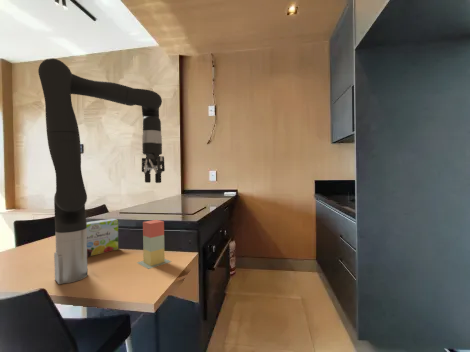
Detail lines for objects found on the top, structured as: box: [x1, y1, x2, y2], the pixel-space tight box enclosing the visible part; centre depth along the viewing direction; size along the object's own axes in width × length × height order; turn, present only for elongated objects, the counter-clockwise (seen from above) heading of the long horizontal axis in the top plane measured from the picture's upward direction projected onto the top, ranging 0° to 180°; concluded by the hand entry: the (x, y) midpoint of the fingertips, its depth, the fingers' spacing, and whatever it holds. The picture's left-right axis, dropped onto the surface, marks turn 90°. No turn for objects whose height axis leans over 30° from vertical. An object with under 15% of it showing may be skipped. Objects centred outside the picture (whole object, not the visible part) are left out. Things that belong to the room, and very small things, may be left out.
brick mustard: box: [142, 248, 166, 266], centre depth 98 cm, size 6×6×6 cm
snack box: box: [86, 218, 119, 258], centre depth 112 cm, size 21×6×15 cm, turn 143°
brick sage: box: [142, 234, 165, 252], centre depth 98 cm, size 6×6×6 cm
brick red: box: [142, 219, 165, 238], centre depth 98 cm, size 6×6×6 cm
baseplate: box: [136, 258, 172, 270], centre depth 98 cm, size 10×10×1 cm
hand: (152, 182), depth 98 cm, fingers open, 8 cm apart
